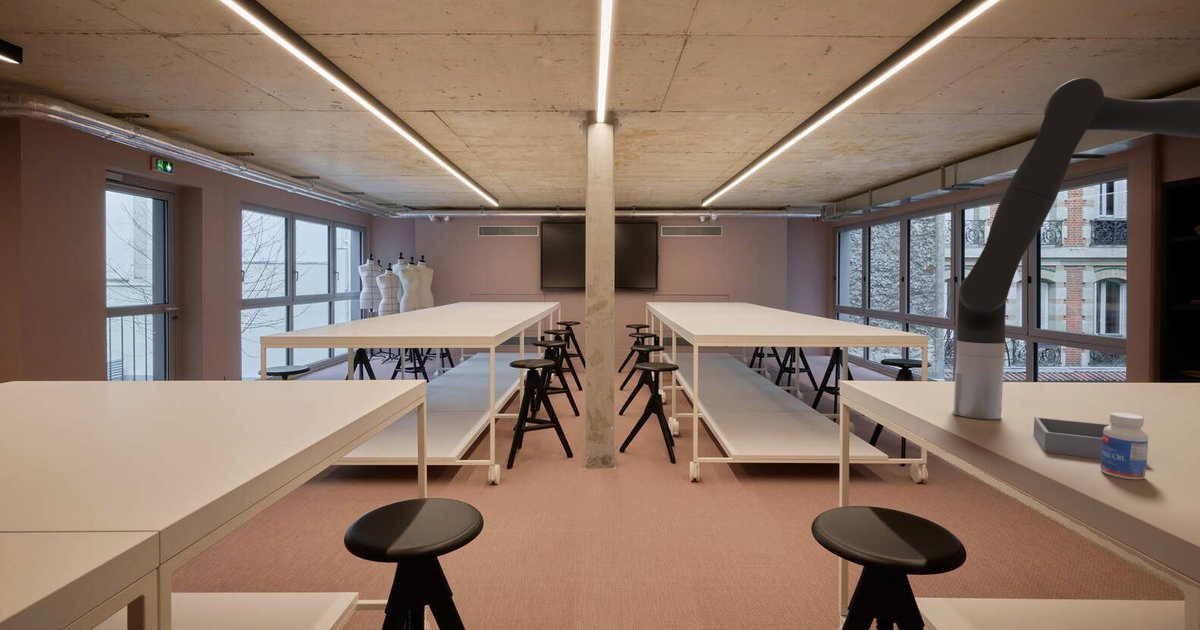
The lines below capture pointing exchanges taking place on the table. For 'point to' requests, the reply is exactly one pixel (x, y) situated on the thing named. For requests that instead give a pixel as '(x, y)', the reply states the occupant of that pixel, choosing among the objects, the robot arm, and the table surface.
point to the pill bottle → (1124, 447)
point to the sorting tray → (1070, 437)
